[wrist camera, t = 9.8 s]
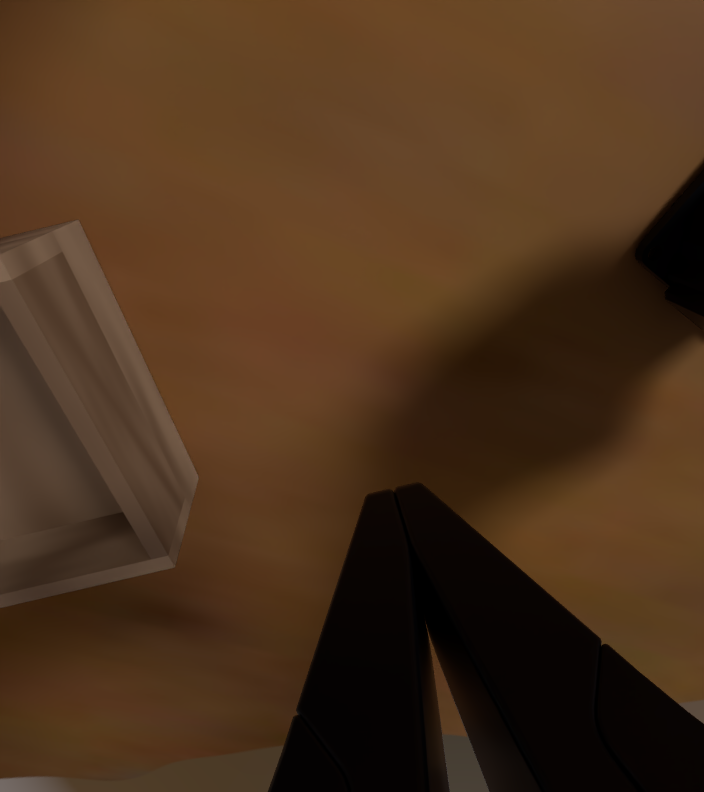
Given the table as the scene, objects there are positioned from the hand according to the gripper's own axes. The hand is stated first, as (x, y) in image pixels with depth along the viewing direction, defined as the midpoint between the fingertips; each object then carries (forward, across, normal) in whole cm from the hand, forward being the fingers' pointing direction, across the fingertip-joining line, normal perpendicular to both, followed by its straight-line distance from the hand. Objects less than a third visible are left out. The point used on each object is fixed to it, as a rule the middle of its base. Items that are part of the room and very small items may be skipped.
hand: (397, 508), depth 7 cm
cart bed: (+12, +13, +1) cm, 18 cm away
